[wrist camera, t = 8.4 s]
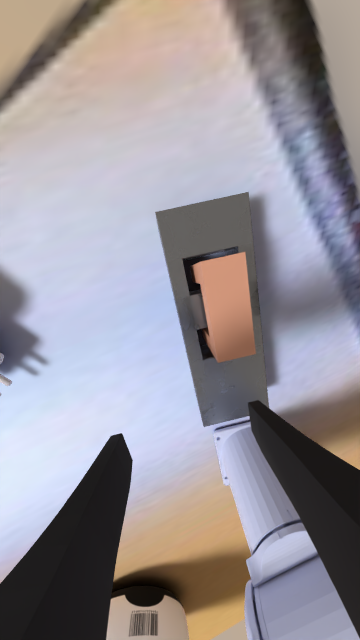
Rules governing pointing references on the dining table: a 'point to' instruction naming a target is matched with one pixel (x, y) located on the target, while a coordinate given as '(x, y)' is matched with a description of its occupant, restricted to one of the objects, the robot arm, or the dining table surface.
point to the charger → (3, 379)
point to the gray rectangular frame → (188, 243)
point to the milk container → (146, 615)
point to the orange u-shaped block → (226, 306)
